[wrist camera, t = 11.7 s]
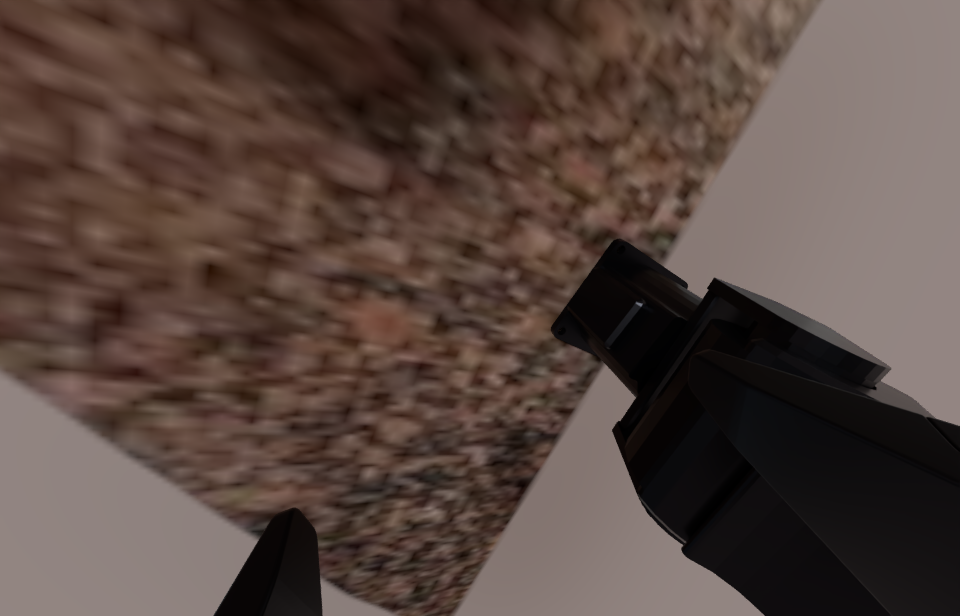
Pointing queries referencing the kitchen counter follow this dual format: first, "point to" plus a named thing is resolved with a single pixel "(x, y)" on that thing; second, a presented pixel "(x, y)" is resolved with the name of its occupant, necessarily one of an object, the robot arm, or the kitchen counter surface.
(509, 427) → the kitchen counter surface
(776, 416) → the robot arm
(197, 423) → the kitchen counter surface
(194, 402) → the kitchen counter surface
